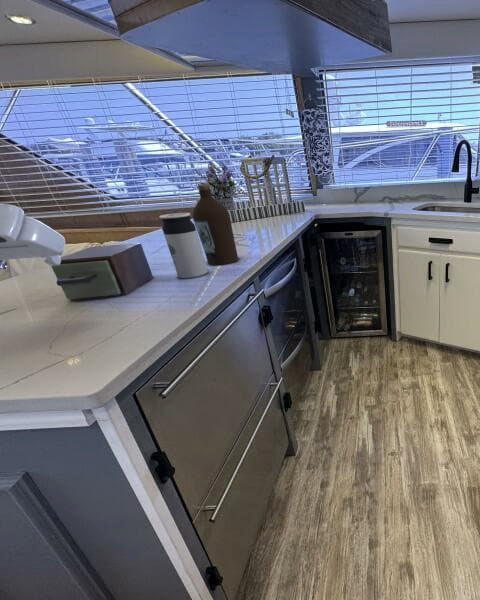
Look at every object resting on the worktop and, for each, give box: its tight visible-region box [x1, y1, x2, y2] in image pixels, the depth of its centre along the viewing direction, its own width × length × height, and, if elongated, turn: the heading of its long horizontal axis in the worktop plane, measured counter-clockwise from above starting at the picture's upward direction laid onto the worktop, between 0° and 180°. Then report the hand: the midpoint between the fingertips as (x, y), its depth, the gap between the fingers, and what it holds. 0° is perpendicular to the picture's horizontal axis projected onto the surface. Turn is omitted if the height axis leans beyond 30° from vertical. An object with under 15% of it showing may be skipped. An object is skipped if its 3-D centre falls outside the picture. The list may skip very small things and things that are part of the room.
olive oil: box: [192, 184, 239, 266], centre depth 106 cm, size 11×11×25 cm
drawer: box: [50, 259, 121, 300], centre depth 84 cm, size 18×11×9 cm, turn 12°
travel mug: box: [159, 212, 209, 279], centre depth 95 cm, size 8×8×18 cm
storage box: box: [60, 242, 154, 301], centre depth 88 cm, size 15×13×11 cm
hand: (30, 264), depth 66 cm, fingers open, 8 cm apart
